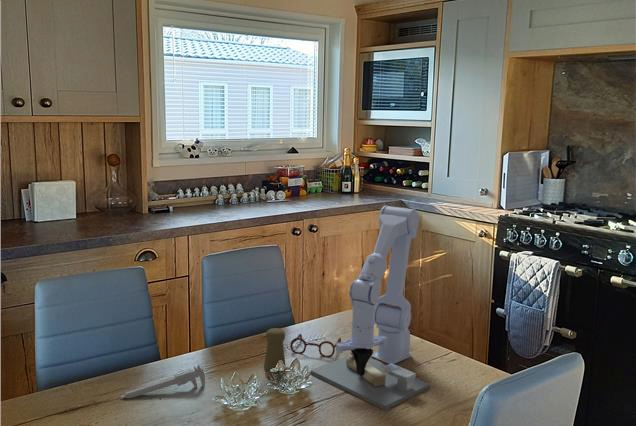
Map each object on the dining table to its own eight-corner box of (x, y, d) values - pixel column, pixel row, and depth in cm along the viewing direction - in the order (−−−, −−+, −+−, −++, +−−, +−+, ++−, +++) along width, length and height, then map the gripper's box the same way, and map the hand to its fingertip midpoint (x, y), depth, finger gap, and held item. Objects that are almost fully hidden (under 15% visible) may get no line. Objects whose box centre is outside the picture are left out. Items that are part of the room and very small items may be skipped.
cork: (282, 373, 163) (283, 335, 162) (260, 371, 165) (261, 332, 163) (288, 364, 169) (289, 327, 167) (267, 362, 170) (267, 324, 169)
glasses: (289, 354, 178) (290, 338, 177) (300, 338, 190) (301, 322, 189) (333, 359, 175) (334, 343, 174) (342, 342, 187) (342, 327, 186)
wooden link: (343, 363, 168) (344, 350, 168) (357, 361, 170) (358, 347, 170) (373, 387, 155) (373, 372, 154) (387, 383, 157) (388, 369, 156)
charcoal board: (355, 356, 177) (355, 352, 176) (429, 387, 158) (429, 384, 158) (310, 373, 164) (310, 370, 164) (385, 409, 146) (385, 406, 146)
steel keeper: (380, 382, 158) (381, 367, 158) (390, 377, 161) (391, 363, 160) (405, 393, 153) (406, 377, 152) (414, 388, 155) (415, 373, 155)
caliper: (203, 386, 155) (204, 363, 154) (204, 388, 154) (205, 364, 153) (120, 398, 148) (119, 374, 147) (120, 400, 147) (120, 375, 146)
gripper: (346, 333, 151) (344, 385, 154) (394, 326, 158) (391, 375, 160) (332, 324, 157) (330, 373, 160) (379, 317, 164) (377, 364, 167)
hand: (360, 373), depth 161 cm, fingers closed
